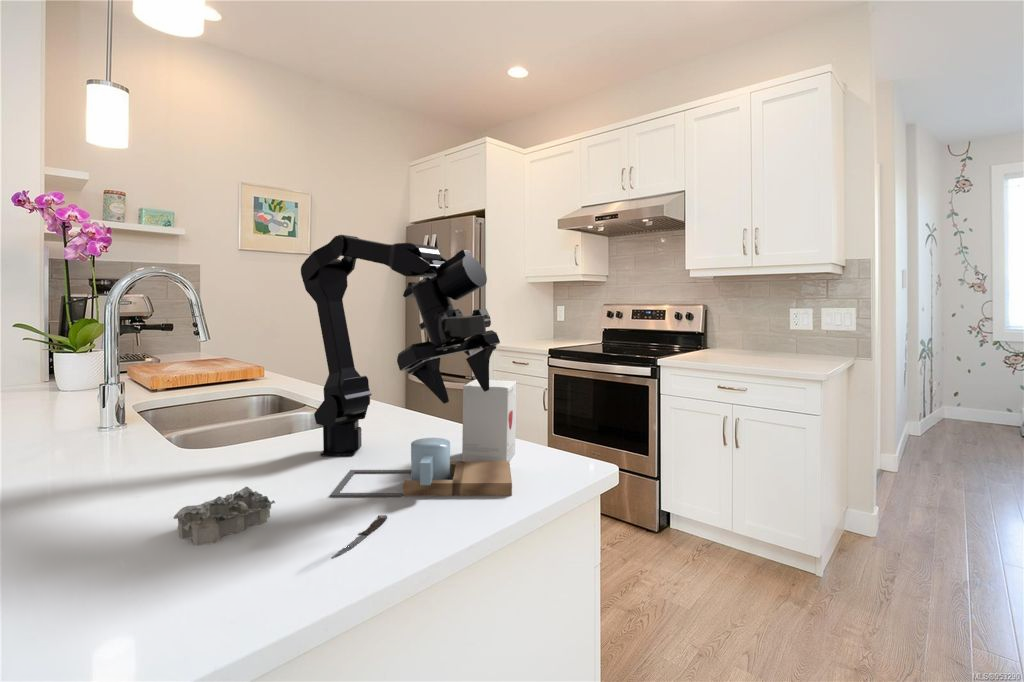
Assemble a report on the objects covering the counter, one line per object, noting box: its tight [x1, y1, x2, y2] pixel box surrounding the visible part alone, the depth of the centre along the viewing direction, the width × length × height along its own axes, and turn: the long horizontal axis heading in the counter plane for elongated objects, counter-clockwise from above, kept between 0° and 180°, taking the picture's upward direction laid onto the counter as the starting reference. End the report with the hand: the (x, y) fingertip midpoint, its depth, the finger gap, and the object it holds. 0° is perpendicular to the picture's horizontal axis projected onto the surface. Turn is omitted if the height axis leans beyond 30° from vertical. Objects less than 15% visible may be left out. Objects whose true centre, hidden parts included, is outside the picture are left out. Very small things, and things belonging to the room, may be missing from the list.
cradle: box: [402, 460, 513, 497], centre depth 87 cm, size 17×11×2 cm, turn 93°
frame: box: [329, 469, 411, 498], centre depth 87 cm, size 11×12×1 cm
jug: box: [410, 437, 451, 485], centre depth 85 cm, size 11×6×7 cm, turn 2°
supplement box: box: [461, 378, 517, 462], centre depth 101 cm, size 9×9×15 cm
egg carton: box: [172, 486, 276, 546], centre depth 70 cm, size 11×8×4 cm
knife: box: [330, 514, 388, 560], centre depth 66 cm, size 17×1×3 cm
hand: (467, 396), depth 87 cm, fingers open, 9 cm apart
